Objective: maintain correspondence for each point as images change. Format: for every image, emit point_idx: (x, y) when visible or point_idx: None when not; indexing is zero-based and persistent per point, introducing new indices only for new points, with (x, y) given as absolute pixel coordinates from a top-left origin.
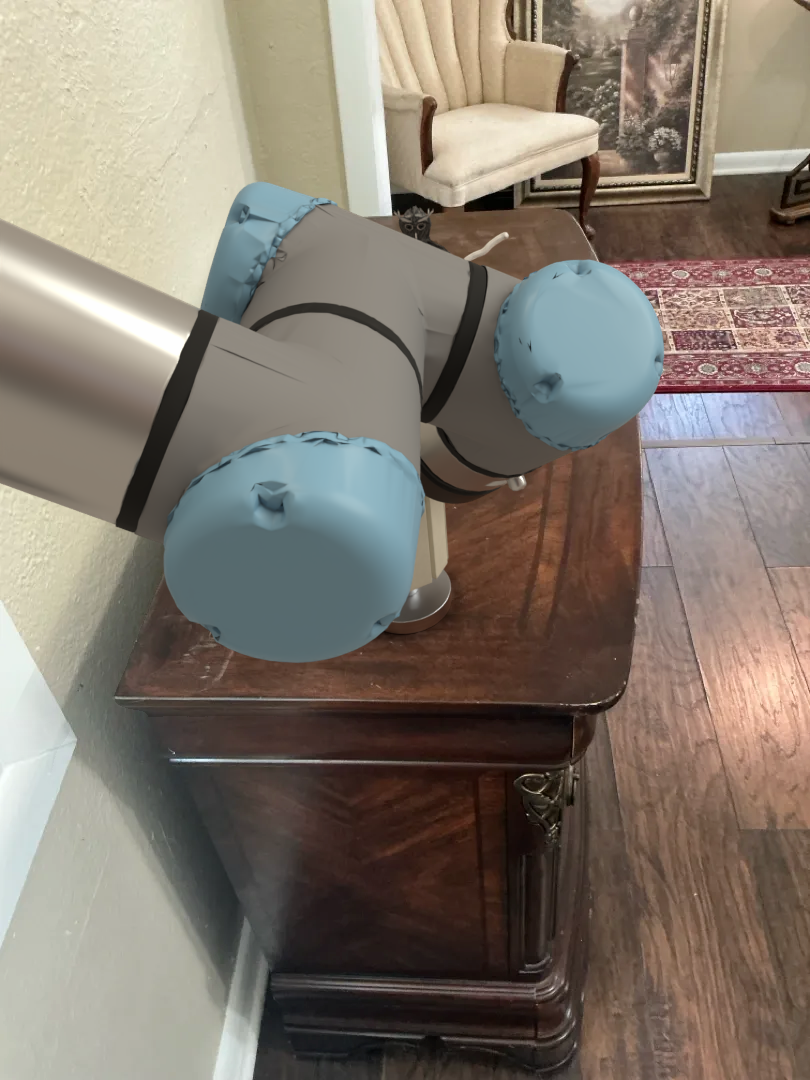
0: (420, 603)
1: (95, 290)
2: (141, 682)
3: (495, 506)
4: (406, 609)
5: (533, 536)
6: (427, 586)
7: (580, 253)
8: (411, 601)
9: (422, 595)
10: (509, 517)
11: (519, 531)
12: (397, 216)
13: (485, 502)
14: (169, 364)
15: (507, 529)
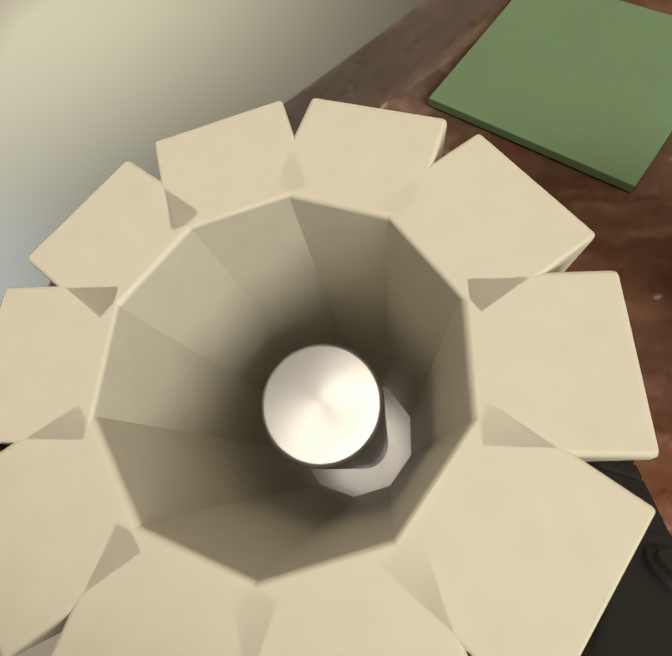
0: (353, 494)
1: None
2: (54, 284)
3: (659, 399)
4: (327, 484)
5: (665, 522)
6: (392, 474)
7: None
8: (347, 477)
9: (370, 482)
10: (661, 443)
11: (650, 488)
12: None
13: (650, 376)
14: None
15: (633, 464)
